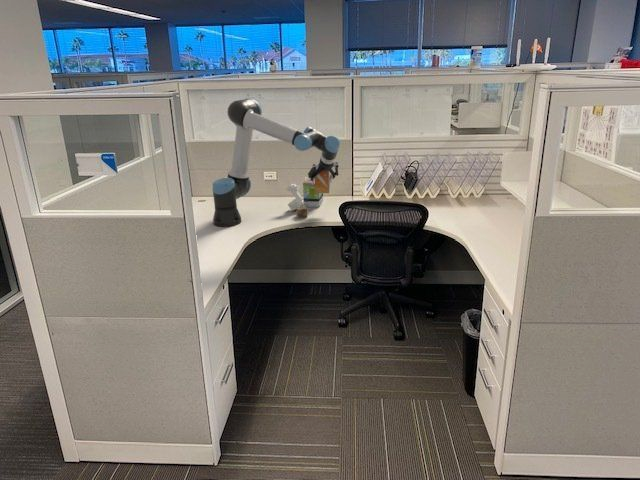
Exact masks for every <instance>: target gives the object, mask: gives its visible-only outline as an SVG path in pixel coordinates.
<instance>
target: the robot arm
mask: <svg viewBox="0 0 640 480" xmlns="http://www.w3.org/2000/svg"><path fill="white" fill-rule="evenodd" d="M262 109H263V108H262V106H261V105H260V103H259V102H258V101H257V100H256V99H253V98H244V99H237V100H234V101H232V102H231V103H230V104H229V106H228V107H227V117H228V119H229V120H230V122H232V124H234V126H236V129H235V130H236V131H235V137H234V138H235V139H234V146H233V152H232V153H233V155H232V162H231V169H230V170H229V171H228V172H227V177H221V178H219V179H216V180H214V181H213V183H212V193H213V194H212V195H213V203H214V213H213V218H212V224H213V225H214V226H216V227H233V226H237V225H239V224H241V223H242V216H241V214H240V211H239V209H238V206H237V204H238V203H237V199H240V198H242V197H245V196H246V195H247V194H248V193H249V192H250V190H251V188H252V182H251V179H250V174H249V173H248V168H249V167H248V166H249V160H250V153H251V147H252V139H253V132H254V130H255V131H256V132H260V133H261V134H264V135H266V136H270V137H272V138H275V139H277V140H279V141H281V142H284V143H287V144H289V145H291V146H294V147H295V148H296V150H298V151H301V152H302V151H303V152H304V151H308V150H309V149H311V148H316V149H317V150H319V151H321V154H320V159H319V163H318V164H315V163H314V164H312V167H311V168H310V170H309V172H308V173H307V176H308V177H307V178H310V179H311V182H312V185H313V184H314V181H315V177H316V176H317V175H318V174H319V173H320V172H322V171H325V170H326V171H327V170H329V172H330V184H332V181H333V180H334V179H335V178H336V176H339V167H340V166H339V162H336V158H337V154H338V151H339V149H340V140H339V137H337V136H335V135H329V136H327V135H325V134H323V133H322V132H320V131H318V130H317V129H316V128H314V127H311V126H307V127H306V128H305V129H304V130H303V131H300V130H299V129H296V128H294V127H291V126H288V125H287V124H284V123H280V122H278V121H276V120H273V119H271V118H268V117H266V116H263V115H262V111H263V110H262ZM333 168H334V170H333Z"/></svg>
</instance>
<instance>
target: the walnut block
mask: <svg viewBox="0 0 640 480" xmlns="http://www.w3.org/2000/svg"><path fill="white" fill-rule="evenodd" d="M303 206H304V205H303ZM303 206H302V207H300V206H299V207H297V208H296V216H297V218H298V219H304V218H305V219H307V218H308V207H305V206H304V207H303Z"/></svg>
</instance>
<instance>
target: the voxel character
mask: <svg viewBox="0 0 640 480" xmlns="http://www.w3.org/2000/svg"><path fill="white" fill-rule="evenodd" d="M299 188H300V185H297V184H296V183H291V184H290V185H289V186H287V187H286V188H285V189H286V190H287V192H290V193H291V194H292V196H294V199H293V200H291V201H290V202H289V203H288V204H287V206H288V207H289V208H290V210H291V211H292V212H293V211H295V210H297V207H304V205H303V197H302V195H301V194H300V193H299V191H298V190H299ZM302 205H303V206H302Z"/></svg>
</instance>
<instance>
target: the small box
mask: <svg viewBox="0 0 640 480" xmlns="http://www.w3.org/2000/svg"><path fill="white" fill-rule="evenodd" d="M330 174H331V173H330V172H329V170H327V171H326V170H325V171H322V172H320V173H319V174H318V175H317V176H316V177H315V193H323V194H330V192H331V183H330Z"/></svg>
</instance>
